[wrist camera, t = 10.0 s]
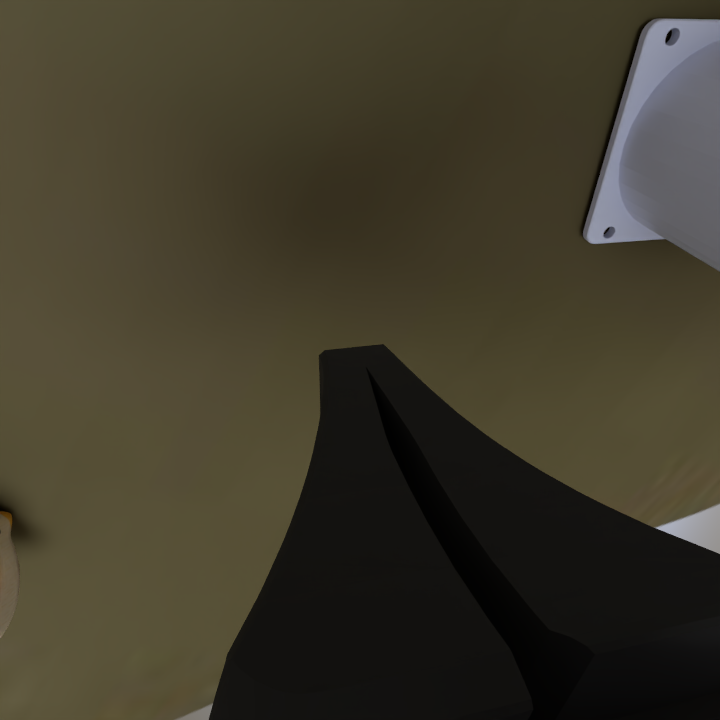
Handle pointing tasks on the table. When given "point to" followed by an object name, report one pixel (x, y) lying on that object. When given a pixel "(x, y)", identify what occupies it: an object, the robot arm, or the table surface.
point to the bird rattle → (7, 573)
